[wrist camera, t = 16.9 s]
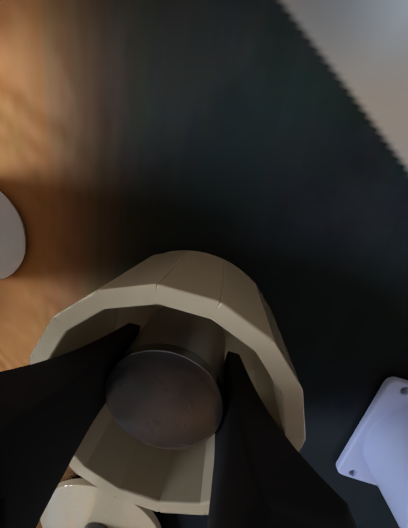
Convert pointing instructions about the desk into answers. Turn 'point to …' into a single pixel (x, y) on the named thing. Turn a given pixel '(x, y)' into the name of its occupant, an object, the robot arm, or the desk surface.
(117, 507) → the pot lid
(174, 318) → the tin
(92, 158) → the desk surface
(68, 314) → the beige hollow cylinder
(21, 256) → the can
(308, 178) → the desk surface
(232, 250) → the desk surface
